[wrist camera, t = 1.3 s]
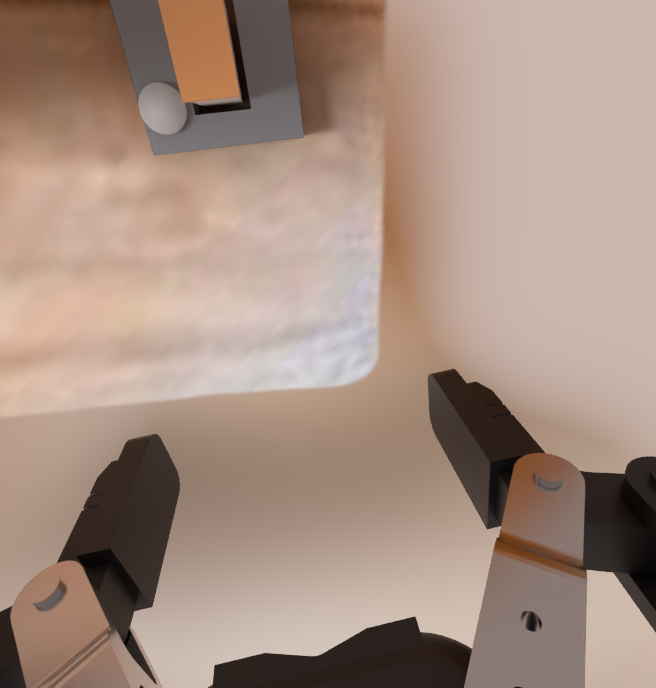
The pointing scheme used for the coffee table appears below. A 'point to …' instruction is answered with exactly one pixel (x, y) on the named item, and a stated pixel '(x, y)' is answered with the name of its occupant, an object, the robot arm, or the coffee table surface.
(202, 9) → the fader tab
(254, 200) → the coffee table surface
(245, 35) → the console
